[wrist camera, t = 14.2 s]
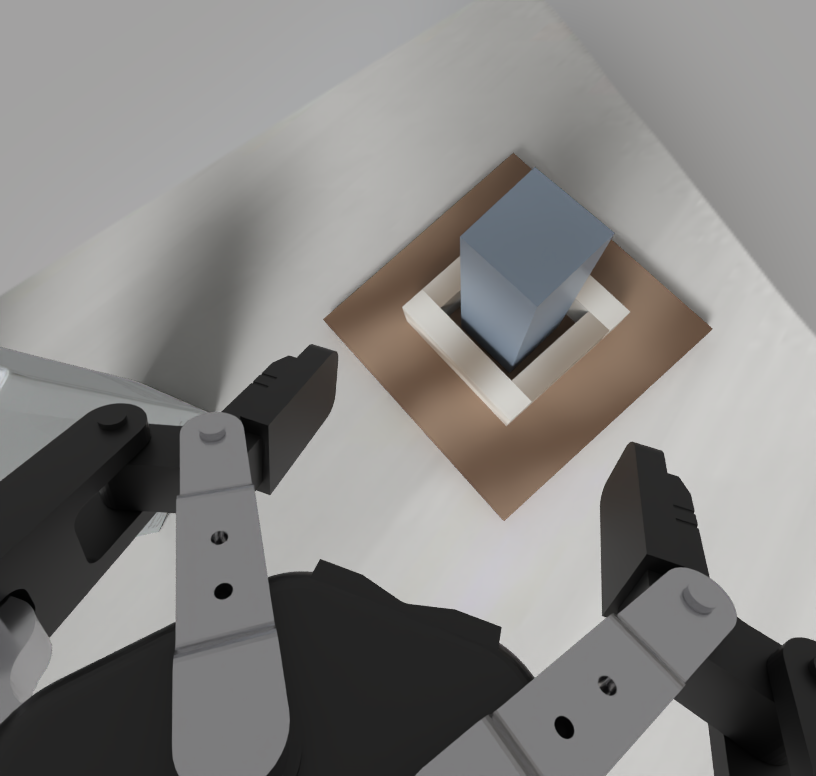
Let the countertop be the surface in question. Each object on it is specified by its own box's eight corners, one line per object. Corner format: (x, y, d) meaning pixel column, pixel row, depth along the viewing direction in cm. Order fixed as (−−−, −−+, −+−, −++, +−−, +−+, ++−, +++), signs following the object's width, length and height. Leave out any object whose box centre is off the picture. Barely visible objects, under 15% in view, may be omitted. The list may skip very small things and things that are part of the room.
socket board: (327, 324, 32) (311, 305, 28) (511, 162, 32) (517, 124, 29) (502, 519, 28) (508, 524, 25) (704, 334, 29) (736, 314, 25)
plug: (461, 326, 30) (459, 236, 19) (509, 281, 30) (534, 167, 19) (509, 373, 29) (537, 307, 18) (558, 326, 29) (614, 233, 18)
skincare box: (141, 382, 32) (-122, 299, 18) (220, 416, 31) (9, 357, 17) (81, 504, 31) (-253, 521, 17) (160, 543, 30) (-121, 598, 16)
